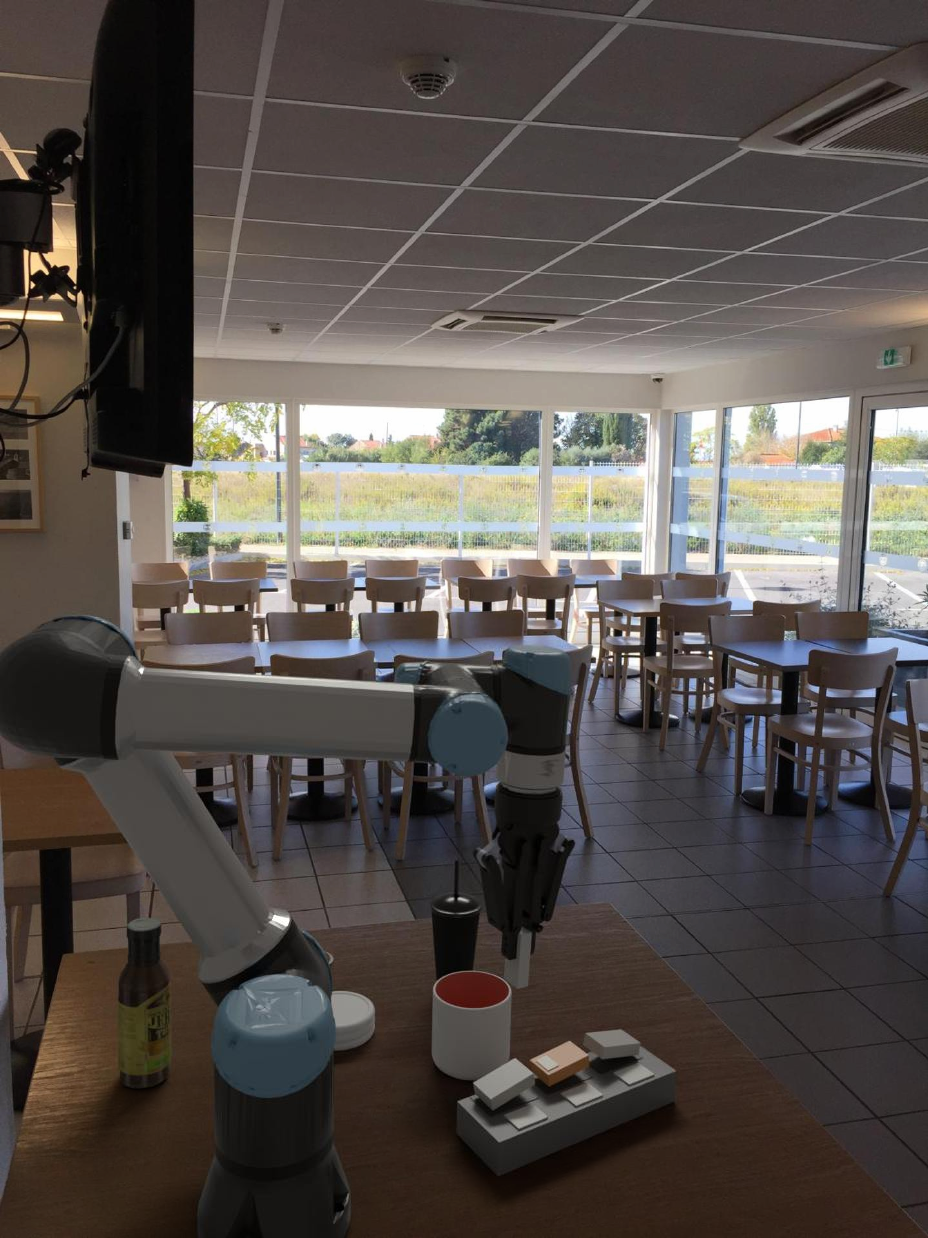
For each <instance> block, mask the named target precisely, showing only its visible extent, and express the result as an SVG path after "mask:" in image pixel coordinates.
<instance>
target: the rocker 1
mask: <svg viewBox="0 0 928 1238" xmlns="http://www.w3.org/2000/svg"><path fill="white" fill-rule="evenodd" d="M472 1084H473V1085H472V1086H473V1091H474V1095H477V1096H478V1097H479V1098H480V1099H481V1100H482V1101H483V1102H484V1103H485V1104H486V1105H487V1106H488V1107H489V1108H490V1109H491V1110H494V1109H496V1108H498V1107H499V1106H501V1105H503V1104H504V1103H506V1102H507V1101H509V1100H511V1099H512V1098H514V1097H516V1096H517V1095H519V1094H520V1093H522V1092H524V1091H525V1090H527V1089H529V1088H530V1087H532V1086H533V1085H535V1080H534V1074H533V1073H532V1072H531V1069H530V1068H528V1067H526V1066H525V1065H524V1064H523V1063H522V1062H521V1061H519V1060H518V1059H517V1058H513V1059H510V1060H508V1062H507V1063H506V1064H504V1065H502V1066H501V1067H499V1068H497V1069H496V1070H494V1071H492V1072H491V1073H489V1074H487V1075H486V1076H484V1077H482V1078H480V1079H479V1080H474V1081H473V1082H472Z"/></svg>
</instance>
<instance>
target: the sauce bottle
mask: <svg viewBox="0 0 928 1238" xmlns="http://www.w3.org/2000/svg"><path fill="white" fill-rule="evenodd" d="M162 932H163V931H162V922H161V921H160V920H159V919H157V918H154V917H140V918H136V919H133V920H131V921H130V922H129V923H127V926H126V938H127V941H128V948H127V949H128V952H127V953H128V954H127V963H126V964H125V966H124V968H123V969H122V970H121V972H120V975H119V978H118V983H117V985H118V996H117V1048H118V1049H117V1052H118V1053H117V1054H118V1055H117V1059H118V1060H117V1062H118V1063H117V1064H118V1069H119V1080H120V1082H121V1084H122V1085H123V1086H125V1087H128V1088H131V1089H144V1088H151V1087H154V1086H157V1085H158V1084H160V1083H161V1082H163V1081H165V1080H167V1078H168V1077H169V1075H170V1072H171V1071H170V1070H171V1064H170V1063H171V1061H172V989H171V987H172V981H171V973H170V971H169V969H168V967H167V966H166V964H165V963H164V961H163V960H162V959H161V956H162V955H161V954H162V953H161V946H160V945H161V934H162Z"/></svg>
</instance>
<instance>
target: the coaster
mask: <svg viewBox="0 0 928 1238" xmlns="http://www.w3.org/2000/svg"><path fill="white" fill-rule="evenodd" d="M331 1003H332V1009H333V1017H334V1019H335V1024H336V1040H335V1045H334V1052H337V1051H338V1052H339V1051H346V1050H351V1049H354V1048H357V1047H359V1046H361V1045H363V1044H365V1043H366V1042H368V1041H369V1040H370V1039H371V1038H372V1036H373V1035H374V1032H375V1028H376V1026H375V1025H376V1024H375V1022H376V1016H375V1014H376V1009H375V1005H374V1003H373V1002H372V1001H371V1000H370V999H369V998H368V997H366V996H364V995H363V994H361V993H357V992H353V991H346V990H337V991H335V990H334V991H332V996H331Z"/></svg>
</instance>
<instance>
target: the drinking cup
mask: <svg viewBox="0 0 928 1238" xmlns="http://www.w3.org/2000/svg"><path fill="white" fill-rule="evenodd" d="M453 863H454V868H453V869H454V871H453V873H454V875H453V891H450V892H446V893H442V894H439V895H435V896H434V897H432V898H431V899H430V900H429V904H428V908H429V909H430V911H431V923H432V936H433V951H434V963H435V964H434V965H435V967H434V968H435V981H436V982H437V981H438V980H439V979H441V978H442V977H444V976H446V975H449V974H452V973H456V972H462V971H474V965H475V964H474V963H475V957H476V948H477V947H476V946H477V938H478V934H479V933H478V930H479V923H480V917H481V916H480V915H481V912H482V911H483V902H482V900H481V899H479V897H477V896H475V895H472V894H468V893H465V892H461V891H459V890H460V889H459V884H460V883H459V882H460V860H458V859H456V860H454V862H453ZM436 982H435V983H436Z"/></svg>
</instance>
